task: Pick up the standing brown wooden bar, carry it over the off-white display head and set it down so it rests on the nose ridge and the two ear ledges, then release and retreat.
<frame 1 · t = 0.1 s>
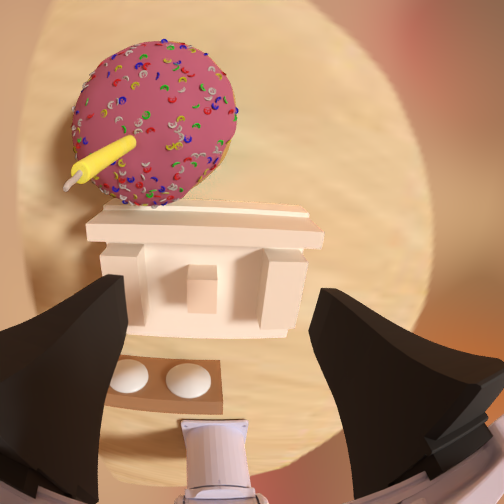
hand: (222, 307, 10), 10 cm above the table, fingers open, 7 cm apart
display head: (203, 267, 20), on the table
brown wooden bar: (161, 364, 24), on the table
cupcake: (165, 123, 16), on the table
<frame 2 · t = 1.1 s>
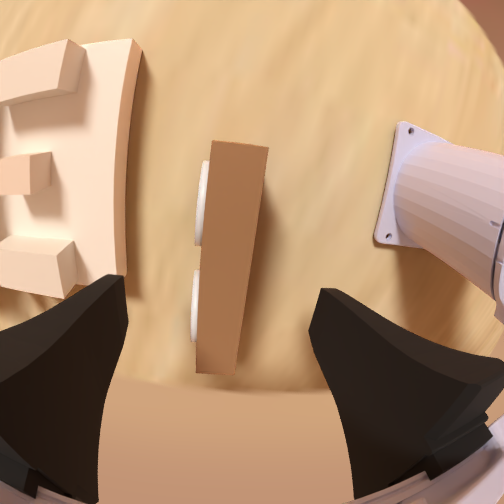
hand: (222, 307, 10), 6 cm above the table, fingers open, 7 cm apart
display head: (52, 164, 12), on the table
brown wooden bar: (220, 239, 16), on the table
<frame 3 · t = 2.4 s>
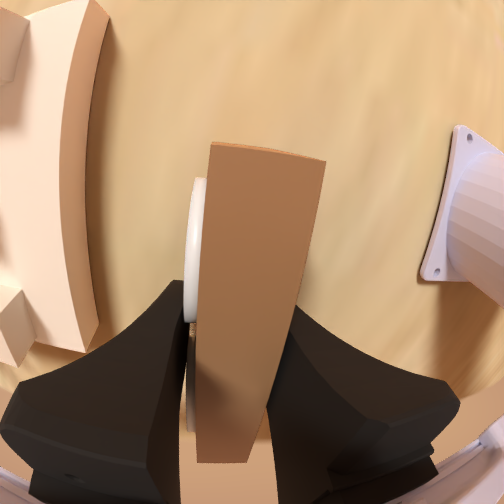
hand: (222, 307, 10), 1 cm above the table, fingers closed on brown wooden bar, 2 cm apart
brown wooden bar: (224, 287, 11), on the table, touching gripper
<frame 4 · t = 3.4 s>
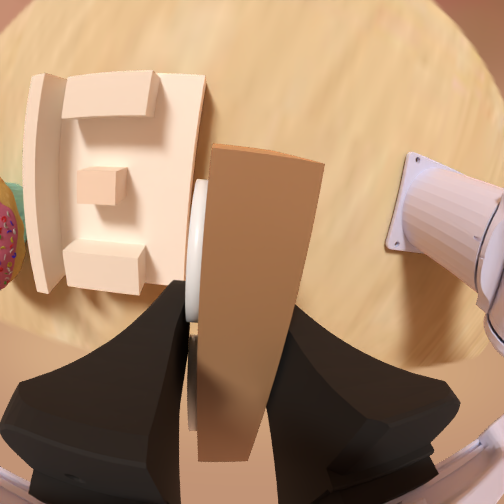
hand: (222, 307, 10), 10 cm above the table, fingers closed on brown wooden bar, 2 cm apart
display head: (119, 176, 16), on the table
brown wooden bar: (224, 287, 11), point 8 cm above the table, touching gripper
cupcake: (15, 213, 16), on the table
when the fingers open (6 cm above the table, at t = 4.6 s): brown wooden bar stays where it is, resting on display head.
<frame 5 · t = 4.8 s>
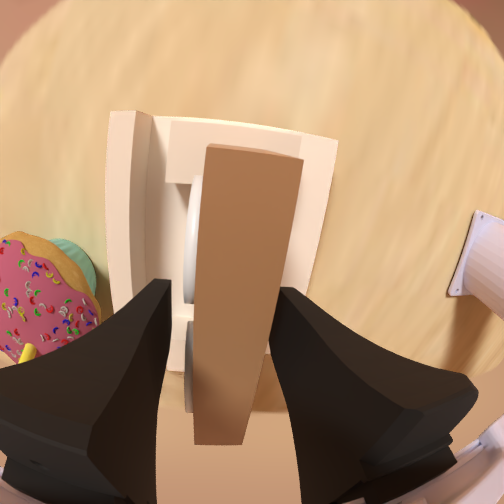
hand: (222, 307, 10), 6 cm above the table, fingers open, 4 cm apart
display head: (217, 241, 16), on the table
brown wooden bar: (221, 277, 12), point 4 cm above the table, touching display head
cupcake: (66, 272, 15), on the table
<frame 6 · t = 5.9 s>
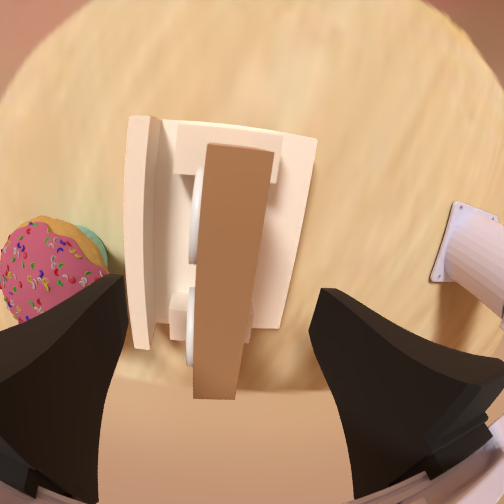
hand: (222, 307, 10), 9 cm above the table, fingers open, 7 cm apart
display head: (215, 227, 18), on the table
brown wooden bar: (218, 252, 14), point 4 cm above the table, touching display head
cupcake: (80, 256, 17), on the table
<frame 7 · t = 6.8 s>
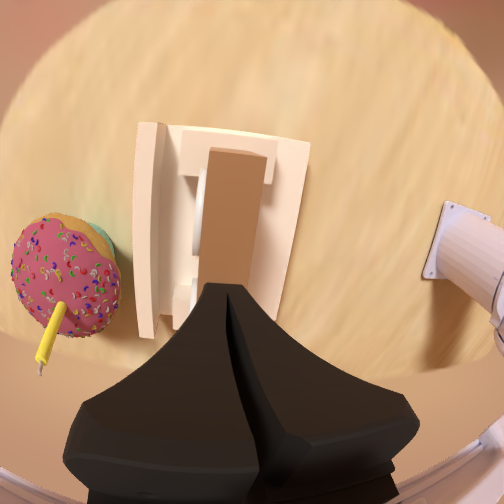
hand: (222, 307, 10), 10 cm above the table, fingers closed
display head: (216, 224, 19), on the table
brown wooden bar: (218, 247, 16), point 4 cm above the table, touching display head
cupcake: (88, 251, 19), on the table
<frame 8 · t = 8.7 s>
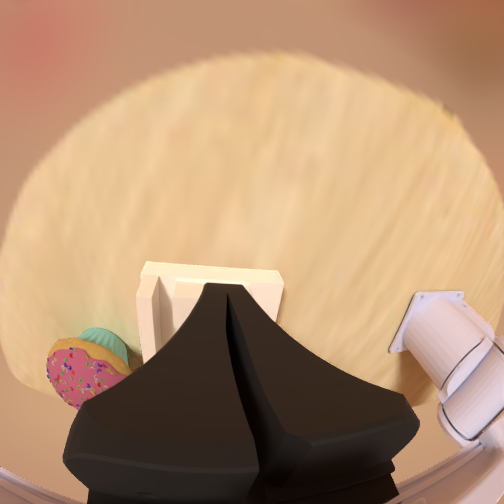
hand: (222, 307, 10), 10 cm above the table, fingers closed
display head: (207, 334, 23), on the table
cupcake: (104, 345, 22), on the table
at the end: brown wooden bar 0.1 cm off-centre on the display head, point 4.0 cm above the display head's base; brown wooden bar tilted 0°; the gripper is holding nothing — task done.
